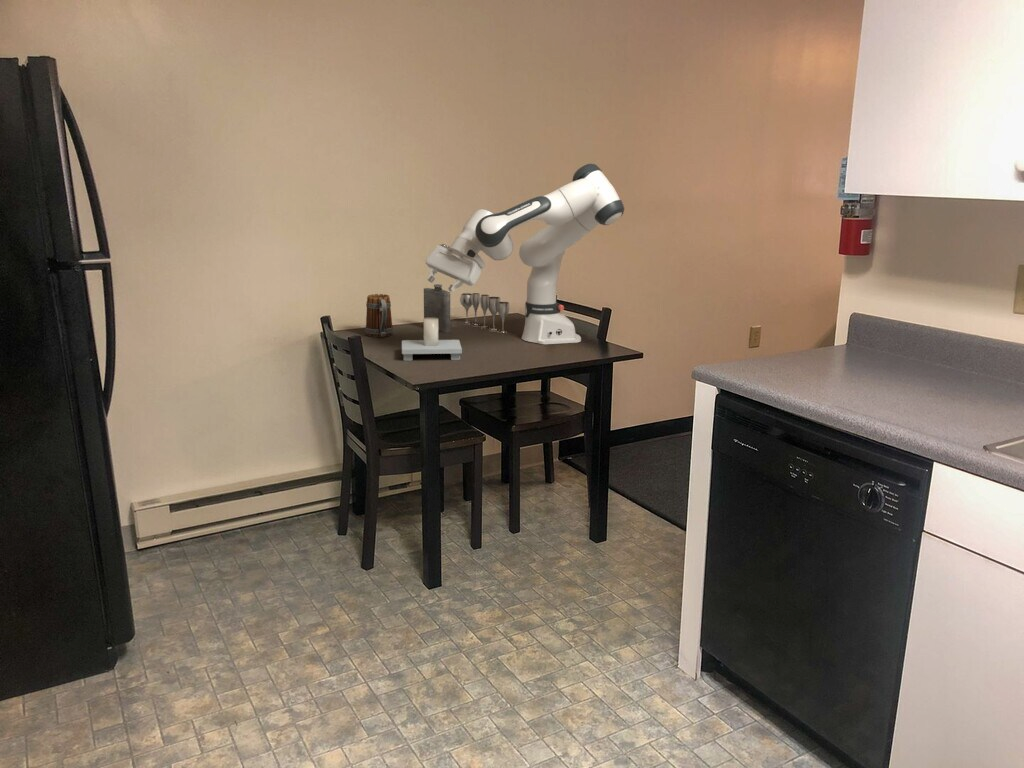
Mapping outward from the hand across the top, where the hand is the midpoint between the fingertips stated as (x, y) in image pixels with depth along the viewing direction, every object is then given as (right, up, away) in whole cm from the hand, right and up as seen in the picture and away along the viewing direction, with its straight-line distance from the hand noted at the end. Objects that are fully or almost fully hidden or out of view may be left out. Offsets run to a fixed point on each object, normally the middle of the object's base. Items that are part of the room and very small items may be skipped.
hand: (440, 286), depth 266 cm
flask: (-6, -11, +53) cm, 54 cm away
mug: (-26, -14, +40) cm, 50 cm away
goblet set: (+12, -10, +59) cm, 61 cm away
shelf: (-4, -23, +12) cm, 26 cm away
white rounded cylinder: (-4, -19, +11) cm, 22 cm away
